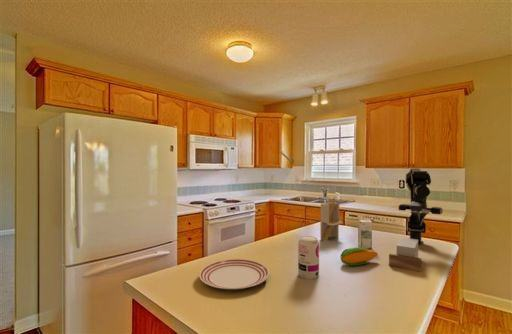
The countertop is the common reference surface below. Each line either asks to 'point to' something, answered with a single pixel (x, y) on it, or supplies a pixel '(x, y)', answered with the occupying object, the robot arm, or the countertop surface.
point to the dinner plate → (234, 274)
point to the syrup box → (365, 233)
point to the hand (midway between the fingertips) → (419, 225)
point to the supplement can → (308, 257)
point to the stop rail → (405, 262)
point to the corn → (357, 256)
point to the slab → (408, 247)
